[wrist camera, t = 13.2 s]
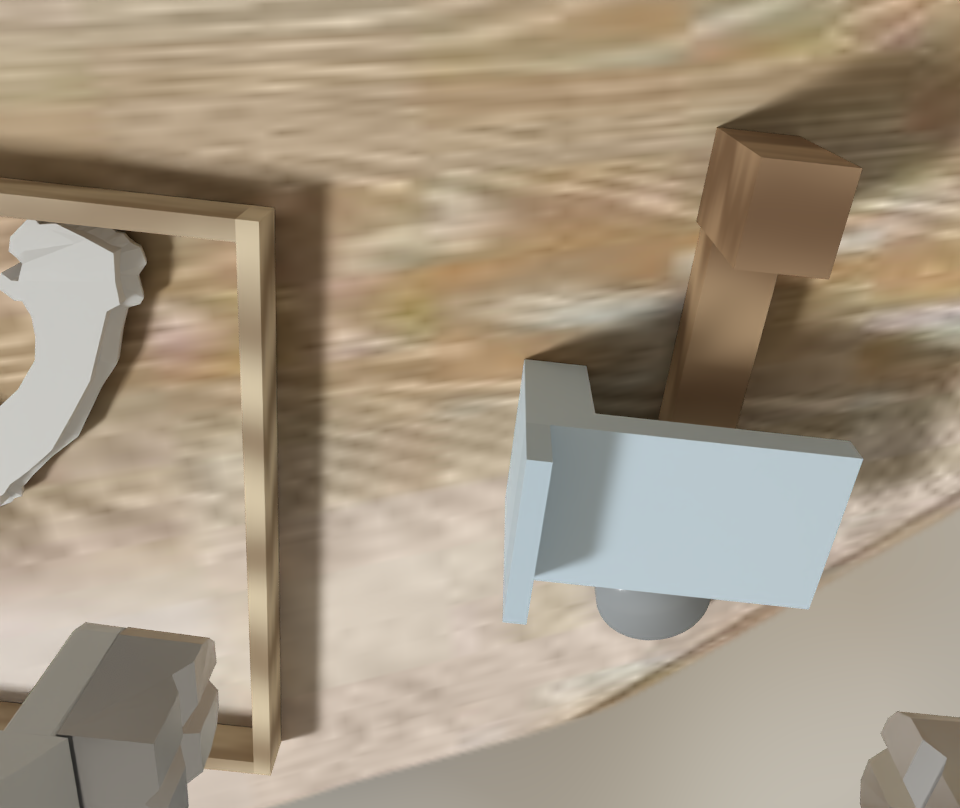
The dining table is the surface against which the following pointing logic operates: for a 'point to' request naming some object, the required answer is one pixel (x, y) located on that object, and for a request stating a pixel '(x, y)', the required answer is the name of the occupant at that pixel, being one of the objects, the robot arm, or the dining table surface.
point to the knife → (64, 336)
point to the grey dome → (648, 612)
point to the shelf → (664, 502)
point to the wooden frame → (258, 403)
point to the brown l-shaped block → (750, 261)
